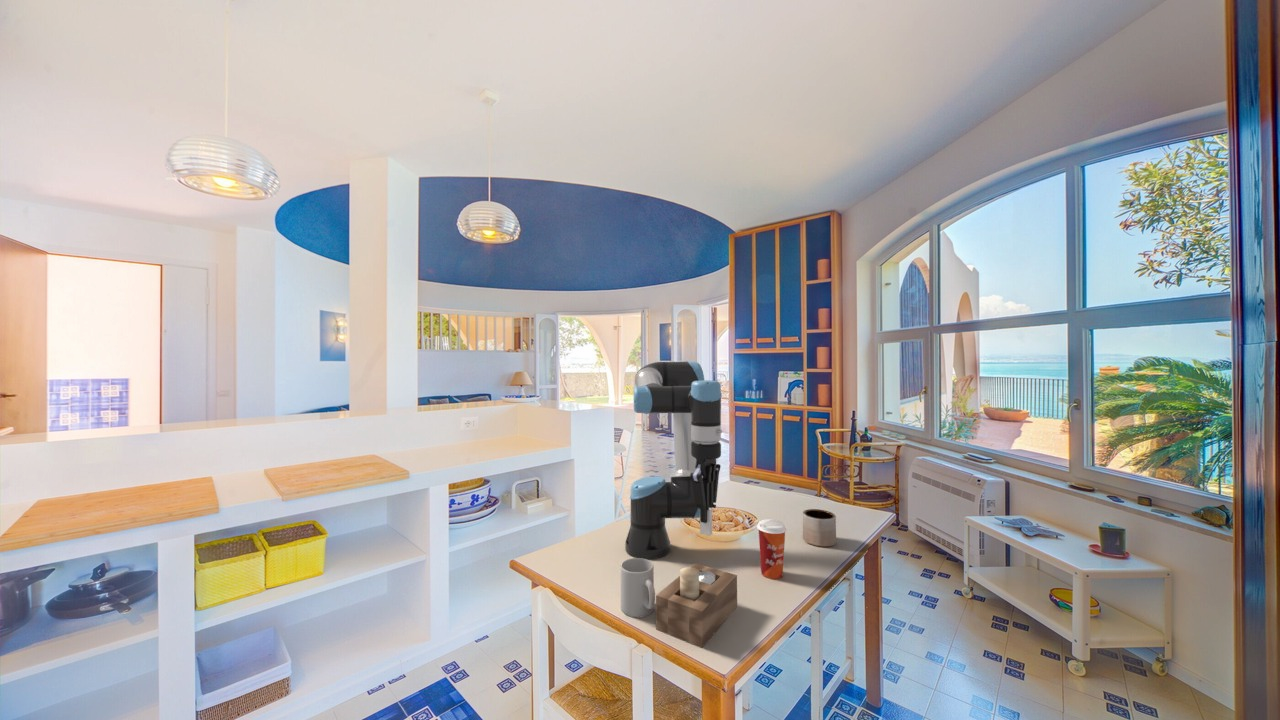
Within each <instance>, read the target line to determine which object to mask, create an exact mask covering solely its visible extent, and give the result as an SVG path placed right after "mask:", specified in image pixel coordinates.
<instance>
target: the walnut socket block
mask: <svg viewBox="0 0 1280 720" xmlns="http://www.w3.org/2000/svg"><path fill="white" fill-rule="evenodd" d="M690 567H692V568H696V569H697V570H698V571H699V572H702V571H709V572H712V573H714V574H715V582H714V583H713V584H712V585H710V584H707V583H704V582H700V581H699V598H698V599H697V600H696V601H692V600H689V599H686V598H683V597H680V575H678V577H676V578H675V579H674V580H673V581H672V582H670V583H669V584H668V585H667V586H666V587H664V588H663V589H662V590H660V591H659V592H658V593H657V594H655V630H656V631H659V632H661V633H664V634H666V635H669V636H671V637H674V638H675V639H676V638H677V639H679V640H682V641H684V642H686V643H689V644H691V645H694V646H696V647H698V648H701V649H703V648H704V647H705V646H706V644H707V643H708V642H709V641H710V640H711V638H712V637H713V636H715V633H716V632H717V631H718V630H719V629H720V627H721V626H722V625H723V623H725V621H726V620H727V619H728V618H729V617H730V615H731V614H732V613H733V612H734V611H735V609H736V608H737V607H738V575H737V574H735V573H730V572H727V571H724V570H721V569H717V568H714V567H710V566H707V565H703V564H701V563H700V564H699V563H696V562H695V563H693V564H692V565H691V566H690Z"/></svg>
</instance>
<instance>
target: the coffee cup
mask: <svg viewBox="0 0 1280 720" xmlns="http://www.w3.org/2000/svg"><path fill="white" fill-rule="evenodd" d="M756 528H757V530H758V540H759V543H758V544H759V556H760V557H759V558H760V573H761V576H763V578H764V577H765V578H766V579H770V580H779V579H781V578H783V571H784V562H785V561H784V559H785V556H784V555H785V543H786V542H785V541H786V540H785V539H786V532H787V528H786V526H785V523H783V522H782V521H780V520H776V519H770V518H767V519H766V518H765V519H762V520H760V521H759V522H758V524H757V526H756Z"/></svg>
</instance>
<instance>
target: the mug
mask: <svg viewBox="0 0 1280 720" xmlns="http://www.w3.org/2000/svg"><path fill="white" fill-rule="evenodd" d="M654 574H655V573H654V563H653V562H652V561H651V560H650V559H645V558H638V557H632V558H629V559H626V560H624V561H622V562H621V564H620V610H621V612H622V613H623V614H624V615H625V616H628V617H631V618H643V617H644V618H645V617H646V616H648V615H650V614H652V613H653V611H654V608H655V605H656V593H655V592H656V591H655V586H654V579H655V578H654Z"/></svg>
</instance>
